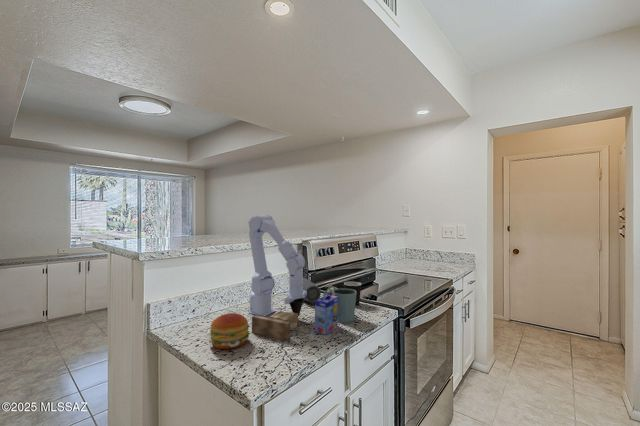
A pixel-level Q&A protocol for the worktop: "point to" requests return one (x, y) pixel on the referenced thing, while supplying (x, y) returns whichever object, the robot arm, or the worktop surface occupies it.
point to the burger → (229, 331)
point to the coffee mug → (354, 286)
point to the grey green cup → (345, 304)
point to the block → (286, 318)
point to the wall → (271, 327)
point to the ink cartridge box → (326, 314)
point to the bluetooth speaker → (311, 291)
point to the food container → (329, 290)
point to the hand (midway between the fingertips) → (296, 316)
